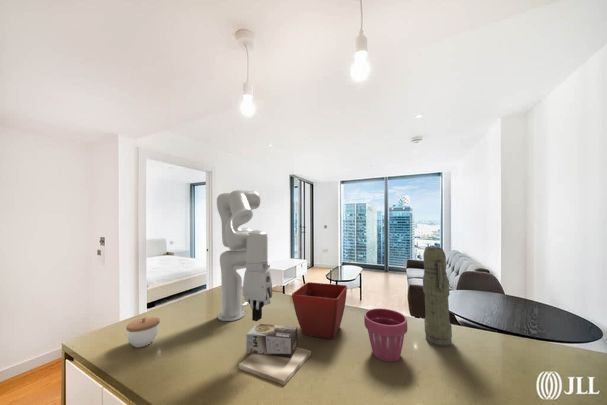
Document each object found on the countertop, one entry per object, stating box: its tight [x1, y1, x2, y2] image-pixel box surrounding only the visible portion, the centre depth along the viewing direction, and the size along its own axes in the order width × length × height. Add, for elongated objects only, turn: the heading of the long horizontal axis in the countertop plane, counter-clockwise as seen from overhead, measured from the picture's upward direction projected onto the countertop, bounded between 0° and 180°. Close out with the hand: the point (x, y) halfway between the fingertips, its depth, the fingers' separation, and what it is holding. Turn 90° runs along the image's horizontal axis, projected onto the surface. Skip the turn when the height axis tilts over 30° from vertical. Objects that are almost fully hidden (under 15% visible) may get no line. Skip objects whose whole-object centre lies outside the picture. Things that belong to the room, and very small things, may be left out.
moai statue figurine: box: [422, 246, 453, 348], centre depth 92 cm, size 9×12×35 cm
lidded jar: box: [125, 316, 161, 348], centre depth 92 cm, size 11×11×9 cm
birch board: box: [238, 346, 312, 386], centre depth 79 cm, size 17×17×1 cm
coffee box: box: [245, 323, 299, 358], centre depth 84 cm, size 9×6×16 cm
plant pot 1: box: [291, 281, 348, 340], centre depth 101 cm, size 19×19×17 cm
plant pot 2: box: [363, 307, 408, 362], centre depth 82 cm, size 14×14×13 cm
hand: (257, 319), depth 84 cm, fingers closed
